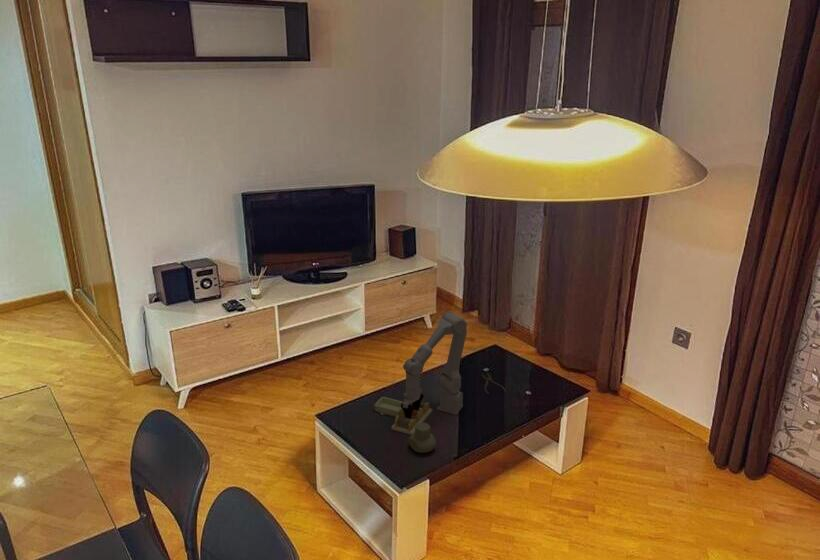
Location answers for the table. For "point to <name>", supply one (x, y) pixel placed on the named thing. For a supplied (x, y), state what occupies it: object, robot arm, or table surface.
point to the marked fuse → (416, 413)
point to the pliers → (491, 381)
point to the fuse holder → (408, 428)
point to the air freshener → (422, 438)
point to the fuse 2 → (423, 405)
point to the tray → (388, 406)
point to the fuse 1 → (405, 420)
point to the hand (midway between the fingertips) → (412, 414)
